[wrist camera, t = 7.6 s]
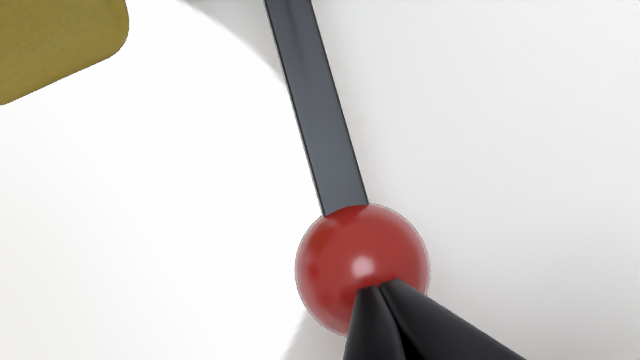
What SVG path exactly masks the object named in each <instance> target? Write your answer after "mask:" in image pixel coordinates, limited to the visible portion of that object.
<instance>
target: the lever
mask: <svg viewBox="0 0 640 360" xmlns="http://www.w3.org/2000/svg"><path fill="white" fill-rule="evenodd" d="M263 2H264V6H265V10H266V13H267V17H268V20H269V24H270V28H271V31H272V35H273V39H274V42H275V46H276V49H277V53H278V57H279V60H280V64H281V67H282V71H283V75H284V78H285V82H286V86H287V89H288V93H289V96H290V100H291V103H292V107H293V111H294V114H295V118H296V122H297V125H298V129H299V132H300V136H301V140H302V143H303V147H304V151H305V154H306V158H307V161H308V164H309V168H310V172H311V176H312V180H313V183H314V187H315V190H316V194H317V198H318V201H319V205H320V208H321V212H322V216H320V217H319V218H318V219H317V220H316V221H315V222H314V223H313V224H312V225H311V226H310V227H309V229H308V230H307V232H306V233H305V235H304V236H303V238H302V240H301V242H300V245H299V248H298V251H297V254H296V260H295V280H296V285H297V289H298V292H299V295H300V298H301V300H302V302H303V304H304V306H305V307H306V309H307V310H308V312H309V313H310V314H311V315H312V317H313V318H314V319H315V320H316V321H317V322H318V323H320V324H321V325H322V326H323V327H325V328H326V329H328V330H329V331H331V332H333V333H335V334H337V335H340V336H343V337H346V338H347V336H348V331H349V326H350V320H351V315H352V310H353V304H354V299H355V294H356V291H357V290H358V289H360V288H363V287H367V286H370V285H377V286H378V285H379V283H381V282H384V281H388V280H391V279H395V278H398V279H400V280H402V281H404V282H405V283H407V284H408V285H410V286H411V287H413V288H415V289H416V290H418V291H419V292H421V293H422V294H424V295H427V292H428V288H429V283H430V261H429V257H428V252H427V250H426V247H425V244H424V242H423V240H422V238H421V236H420V235H419V233H418V232H417V230H416V229H415V228H414V227H413V225H412V224H411V223H410V222H409V221H408V220H407V219H405V218H404V217H403V216H402V215H400V214H399V213H397V212H396V211H394V210H392V209H390V208H387V207H385V206H382V205H379V204H373V203H369V201H368V198H367V195H366V191H365V188H364V184H363V181H362V177H361V174H360V170H359V167H358V163H357V160H356V156H355V153H354V149H353V146H352V142H351V139H350V135H349V132H348V128H347V125H346V121H345V118H344V115H343V111H342V108H341V104H340V101H339V97H338V94H337V90H336V87H335V83H334V80H333V76H332V73H331V69H330V66H329V62H328V59H327V55H326V52H325V48H324V45H323V41H322V38H321V34H320V31H319V28H318V24H317V21H316V17H315V14H314V10H313V7H312V3H311V0H263Z"/></svg>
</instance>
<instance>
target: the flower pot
mask: <svg viewBox="0 0 640 360" xmlns="http://www.w3.org/2000/svg"><path fill="white" fill-rule="evenodd" d="M128 31H129V16H128V11H127V6H126V2H125V0H0V105H4V104H7V103H10V102H12V101H14V100H16V99H18V98H21V97H23V96H25V95H27V94H29V93H32V92H34V91H36V90H38V89H40V88H43V87H45V86H47V85H49V84H51V83H53V82H56V81H58V80H60V79H62V78H64V77H67V76H69V75H71V74H73V73H76V72H78V71H80V70H82V69H85V68H87V67H89V66H91V65H94V64H96V63H98V62H101V61H103V60H105V59H107V58H109V57H111V56H112V55H114V54H115V53H116V52H118V51H119V50H120V48H121V47H122V46H123V44H124V43H125V41H126V38H127V36H128Z"/></svg>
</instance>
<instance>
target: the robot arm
mask: <svg viewBox="0 0 640 360" xmlns="http://www.w3.org/2000/svg"><path fill="white" fill-rule="evenodd" d="M343 360H526V359H525V358H523V357H521V356H520V355H518V354H517V353H515V352H514V351H512V350H510V349H509V348H507V347H506V346H504V345H503V344H501V343H499V342H498V341H496V340H495V339H493V338H492V337H490V336H488V335H487V334H485V333H484V332H482V331H481V330H479V329H477V328H476V327H474V326H473V325H471V324H470V323H468V322H466V321H465V320H463V319H462V318H460V317H459V316H457V315H455V314H454V313H452V312H451V311H449V310H448V309H446V308H444V307H443V306H441V305H440V304H438V303H437V302H435V301H433V300H432V299H430V298H429V297H427V296H426V295H424V294H422V293H421V292H419V291H418V290H416V289H415V288H413V287H411V286H410V285H408V284H407V283H405V282H404V281H402V280H400V279H398V278H395V279H391V280H388V281H384V282H381V283H379V285H378V286H377V285H370V286H367V287H363V288H360V289H358V290H357V291H356V294H355V299H354V304H353V310H352V315H351V320H350V326H349V331H348V336H347V341H346V347H345V352H344V357H343Z"/></svg>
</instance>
